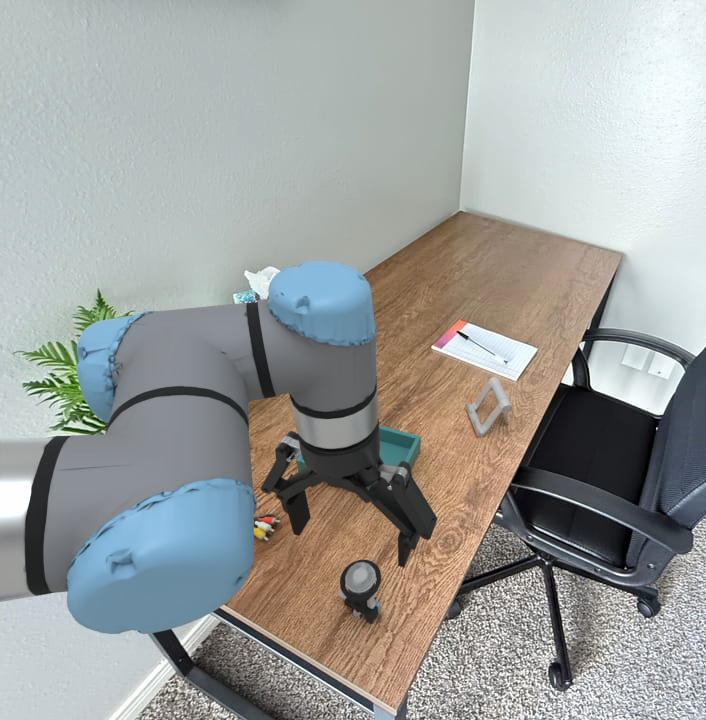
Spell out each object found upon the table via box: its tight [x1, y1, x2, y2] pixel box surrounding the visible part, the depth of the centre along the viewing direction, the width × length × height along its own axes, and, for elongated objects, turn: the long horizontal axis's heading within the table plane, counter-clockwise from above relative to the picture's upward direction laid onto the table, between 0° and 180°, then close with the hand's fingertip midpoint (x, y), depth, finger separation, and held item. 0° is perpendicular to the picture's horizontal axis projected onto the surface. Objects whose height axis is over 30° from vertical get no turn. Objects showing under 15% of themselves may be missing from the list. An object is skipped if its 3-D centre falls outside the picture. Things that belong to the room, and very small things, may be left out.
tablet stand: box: [464, 376, 513, 438], centre depth 97 cm, size 9×8×8 cm
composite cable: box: [254, 513, 282, 542], centre depth 74 cm, size 10×5×2 cm, turn 75°
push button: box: [338, 559, 382, 625], centre depth 64 cm, size 7×5×10 cm
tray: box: [295, 424, 422, 490], centre depth 86 cm, size 19×13×4 cm
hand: (353, 541), depth 57 cm, fingers open, 13 cm apart
